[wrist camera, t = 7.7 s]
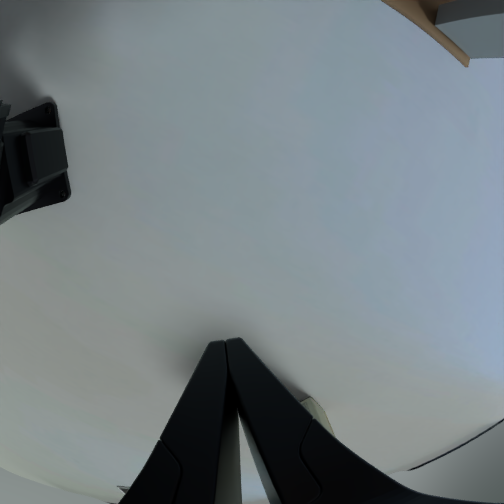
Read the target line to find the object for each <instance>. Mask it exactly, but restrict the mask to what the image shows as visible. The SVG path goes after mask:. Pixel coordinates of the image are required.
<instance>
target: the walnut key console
mask: <svg viewBox="0 0 504 504" xmlns="http://www.w3.org/2000/svg"><path fill="white" fill-rule="evenodd" d="M381 1H382V2H384V3H386V4H387V5H389V6H390V7H392V8H393V9H395V10H396V11H398V12H399V13H401V14H402V15H403V16H405V17H406V18H408V19H409V20H410V21H412V22H413V23H414V24H416V25H417V26H418V27H420V28H421V29H422V30H424V31H425V32H426V33H427V34H429V35H430V36H431V37H432V38H434V39H435V40H436V41H437V42H438V43H440V44H441V45H442V46H443V47H444V48H445V49H446V50H448V51H449V52H450V53H451V54H452V55H453V56H454V57H455V58H456V59H458V60H459V61H460V62H461V63H462V64H463V65H464V66H465V67H468V65H469V60H470V57H469V56H468V55H467V54H466V53H465V52H464V51H463V50H462V49H460V48H459V47H458V46H457V45H456V44H455V43H454V42H453V41H452V40H451V39H450V38H449V37H447V36H446V35H445V34H444V33H443V32H442V31H441V30H439V29H438V28H437V27H436V26H435V22H436V17H437V12H438V8H439V5H441V4H444V3H448V2H451V1H455V0H381Z"/></svg>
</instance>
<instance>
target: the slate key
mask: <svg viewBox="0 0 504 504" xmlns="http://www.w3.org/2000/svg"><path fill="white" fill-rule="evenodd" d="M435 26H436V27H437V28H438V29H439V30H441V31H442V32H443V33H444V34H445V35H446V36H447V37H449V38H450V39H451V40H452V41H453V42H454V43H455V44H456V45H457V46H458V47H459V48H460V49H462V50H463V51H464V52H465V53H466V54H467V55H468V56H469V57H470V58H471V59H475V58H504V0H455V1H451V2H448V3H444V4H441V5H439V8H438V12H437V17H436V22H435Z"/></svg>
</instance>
